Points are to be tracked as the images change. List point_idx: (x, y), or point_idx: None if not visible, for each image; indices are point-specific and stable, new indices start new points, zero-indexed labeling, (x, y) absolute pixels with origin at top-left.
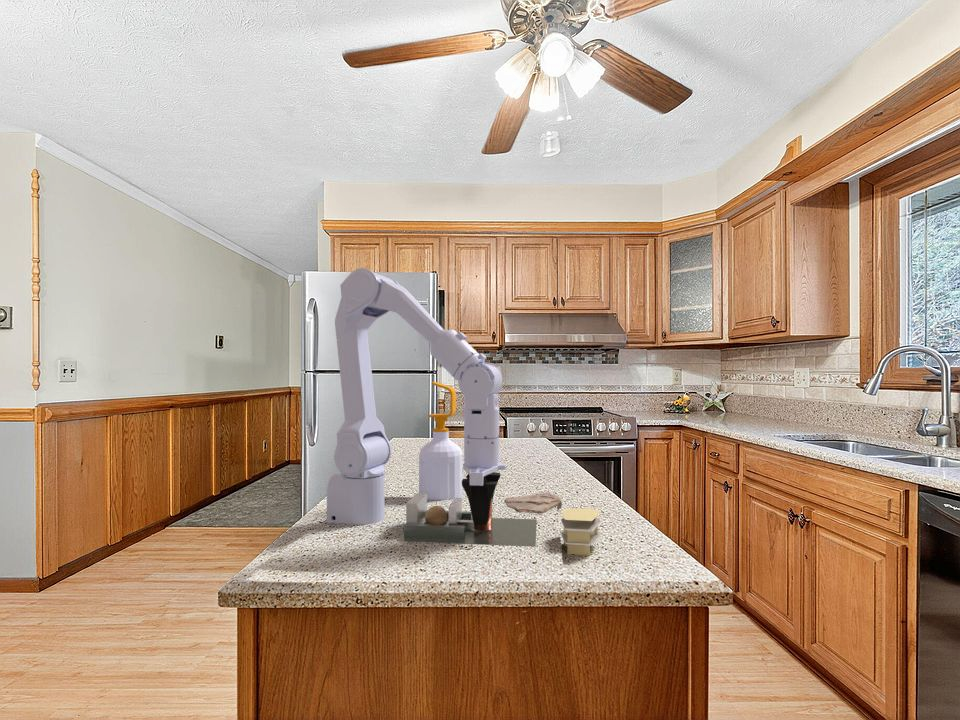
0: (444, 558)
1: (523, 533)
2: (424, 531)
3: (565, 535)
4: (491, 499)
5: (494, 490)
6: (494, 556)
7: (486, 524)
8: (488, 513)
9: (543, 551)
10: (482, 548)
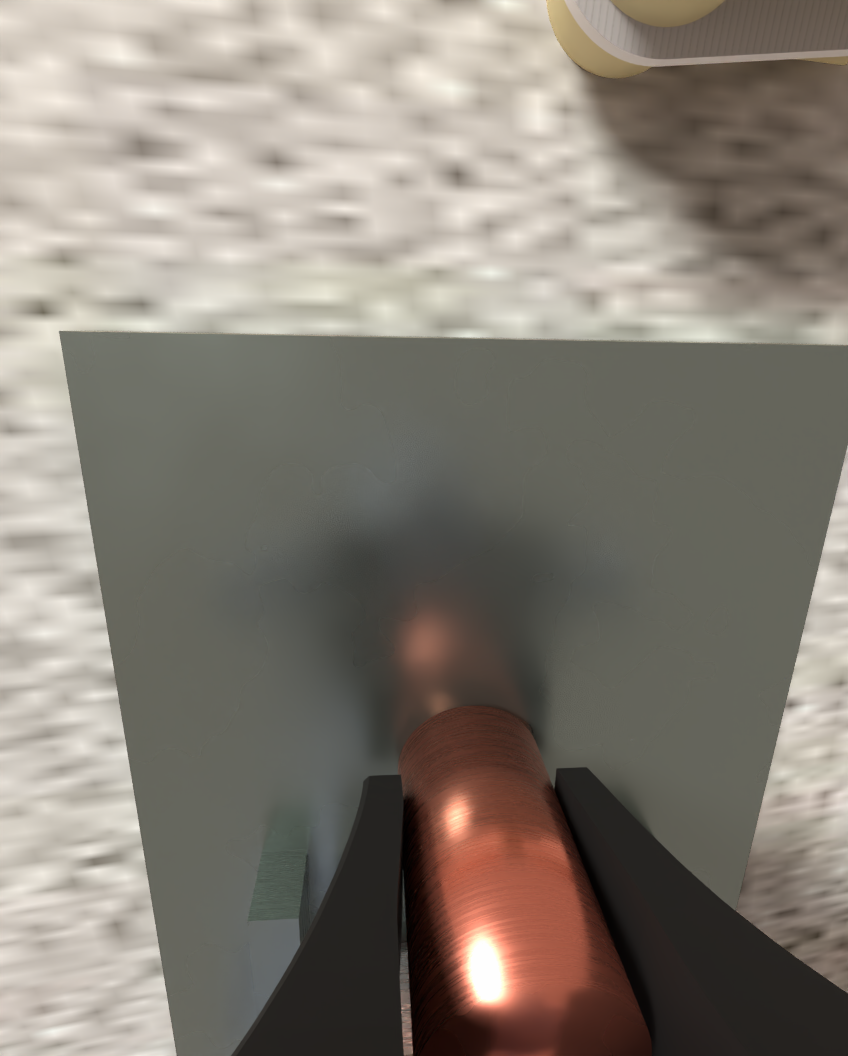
0: (821, 847)
1: (543, 453)
2: None
3: (747, 13)
4: (554, 922)
5: (382, 995)
6: (822, 612)
7: (587, 769)
8: (645, 829)
9: (760, 280)
10: None
